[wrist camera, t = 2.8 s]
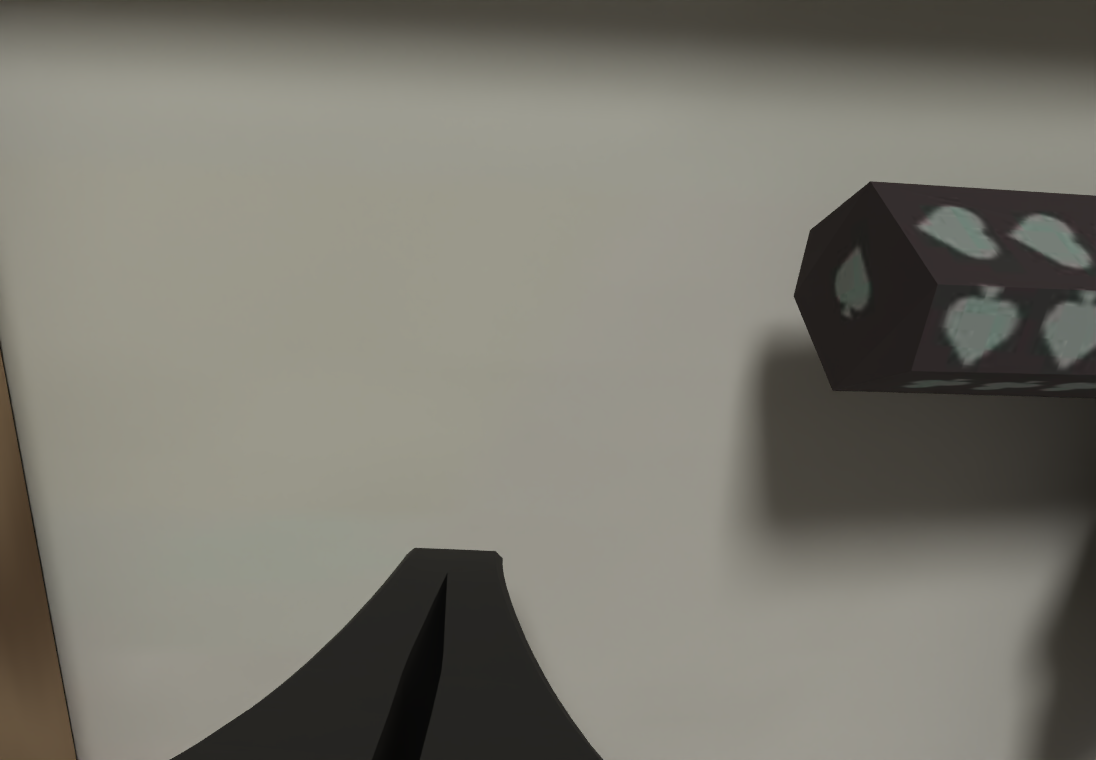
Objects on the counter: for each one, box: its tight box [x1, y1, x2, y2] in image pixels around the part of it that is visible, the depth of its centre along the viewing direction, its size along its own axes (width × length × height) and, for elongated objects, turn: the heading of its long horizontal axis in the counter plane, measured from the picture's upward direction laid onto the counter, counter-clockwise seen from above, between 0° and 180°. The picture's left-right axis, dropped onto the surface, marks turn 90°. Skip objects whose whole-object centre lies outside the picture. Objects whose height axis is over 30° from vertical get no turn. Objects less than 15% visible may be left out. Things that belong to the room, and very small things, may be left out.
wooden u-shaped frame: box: [0, 351, 76, 760], centre depth 13 cm, size 25×26×3 cm
